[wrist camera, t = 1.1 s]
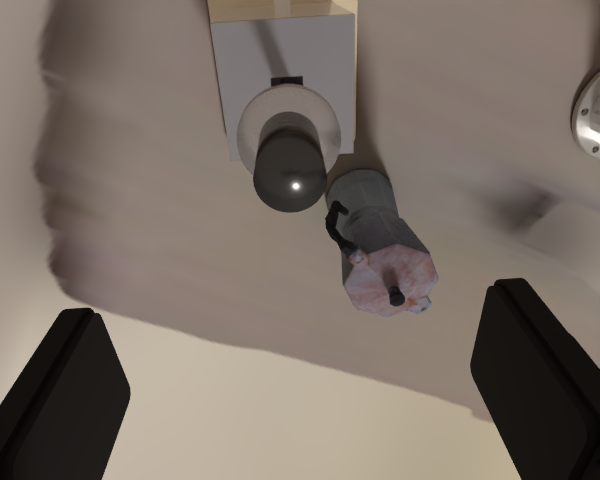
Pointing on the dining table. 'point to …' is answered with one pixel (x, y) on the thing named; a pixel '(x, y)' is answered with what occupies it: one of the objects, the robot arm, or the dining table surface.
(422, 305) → the moka pot
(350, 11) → the white box
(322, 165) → the plunger
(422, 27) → the dining table surface
